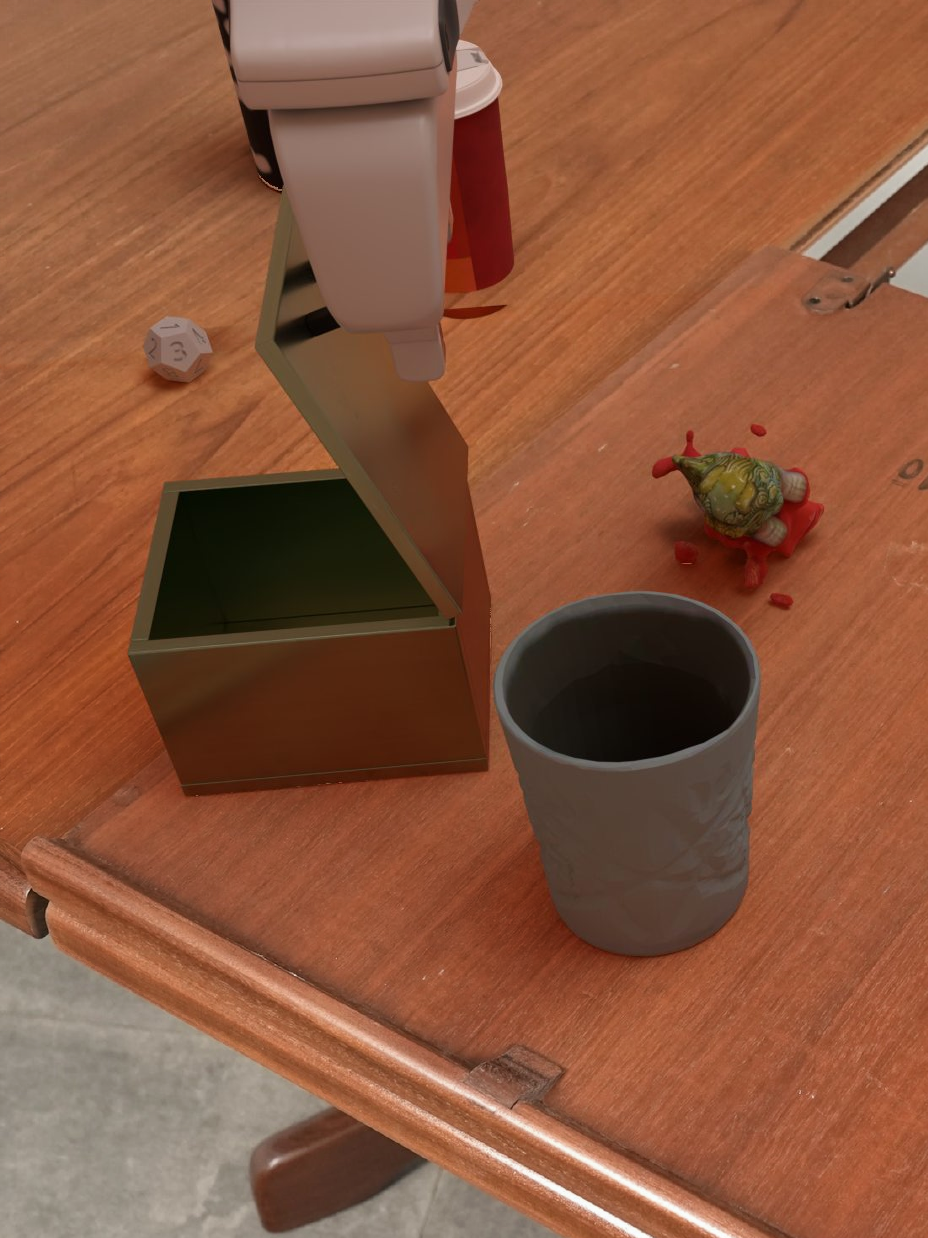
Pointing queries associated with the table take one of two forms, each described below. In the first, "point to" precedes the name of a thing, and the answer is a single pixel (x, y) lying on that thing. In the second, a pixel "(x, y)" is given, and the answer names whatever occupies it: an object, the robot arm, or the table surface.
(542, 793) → the grey cup
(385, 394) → the lid
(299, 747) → the bin
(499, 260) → the paper cup
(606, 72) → the table surface
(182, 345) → the game die
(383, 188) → the robot arm
